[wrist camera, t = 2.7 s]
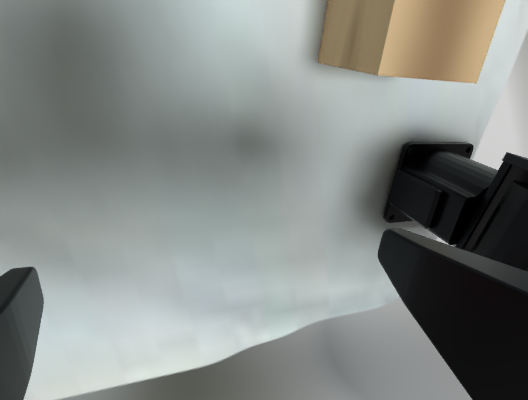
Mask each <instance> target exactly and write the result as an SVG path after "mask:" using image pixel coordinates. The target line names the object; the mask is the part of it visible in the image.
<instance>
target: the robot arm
mask: <svg viewBox="0 0 528 400" xmlns="http://www.w3.org/2000/svg"><path fill="white" fill-rule="evenodd" d="M410 148H411V149H410ZM409 149H410V151H409ZM472 152H473V145H472V144H469V143H465V142H409V143H406V144H405V145H404V146H403V148H402V152H401V155H400V159H399V162H398V166H397V169H396V173H395V176H394V180H393V184H392V187H391V191H390V194H389V198H388V201H387V205H386V208H385V212H384V216H383V218H384V220H386V221H387V222H388V223H394V222H405V221H415V222H416V223H418V224H419V225H421V226H422V227H424V228H425V229H428V230H429V231H431V232H432V233H434V234H435V235H436V236H438V237H439V238H441V239H442V240H444V241H445V242H446V243H448V244H449V245H447V244H444V243H441V242H438V241H436V240H433V239H430V238H427V237H424V236H421V235H418V234H415V233H412V232H409V231H406V230H403V229H400V228H392V229H386V230H385V231H384V232H383V235H382V238H381V242H380V246H379V249H378V259H379V261H380V263H381V265H382V267H383V268H384V270H385V272H386V273H387V275H388V277H389V279H390V280H391V282H392V284H393V286H394V287H395V289H396V291H397V292H398V294H399V296H400V297H401V299H402V301H403V302H404V304H405V305H406V307H407V308H408V310H409V311H410V312H411V314H412V315H413V317H414V318H415V320H416V321H417V322H418V324H419V325H420V327H421V328H422V329H423V331H424V332H425V334H426V335H427V336H428V338H429V339H430V341H431V342H432V344H433V345H434V346H435V348H436V349H437V350H438V352H439V353H440V355H441V356H442V358H443V359H444V360H445V362H446V363H447V365H448V366H449V367H450V369H451V370H452V372H453V373H454V374H455V376H456V377H457V379H458V380H459V382H460V383H461V384H462V386H463V387H464V388H465V390H466V391H467V393H468V394H469V395H470V397H471V398H472V400H528V158H524V157H521V156H518V155H514V154H511V153H506V154H505V156H504V158H503V163H502V165H501V166H500V168H499V170H496V169H493V168H491V167H488V166H486V165H483V164H481V163H478V162H475V161H473V160H471V159H470V157H471V154H472ZM450 245H453V246H454V247H453V246H450ZM43 304H44V300H43V294H42V290H41V286H40V282H39V278H38V274H37V271H36V269H35V268H34V267H23V268H14V269H11V270H9V271H8V272H6V273H5V274H3V275H2V276H0V400H23V399H24V396H25V393H26V390H27V386H28V383H29V379H30V376H31V372H32V367H33V362H34V357H35V351H36V345H37V340H38V334H39V328H40V323H41V317H42V312H43Z"/></svg>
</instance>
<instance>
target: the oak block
mask: <svg viewBox="0 0 528 400" xmlns="http://www.w3.org/2000/svg"><path fill="white" fill-rule="evenodd" d="M504 3H505V0H328V2H327V8H326V14H325V21H324V27H323V34H322V40H321V47H320V53H319V59H318V63H321V64H326V65H331V66H336V67H340V68H345V69H350V70H355V71H359V72H364V73H369V74H374V75H380V76H392V77H404V78H417V79H429V80H441V81H453V82H465V83H477V81H478V78H479V75H480V72H481V69H482V66H483V64H484V61H485V58H486V55H487V52H488V49H489V46H490V43H491V41H492V38H493V35H494V32H495V29H496V26H497V23H498V21H499V18H500V15H501V12H502V9H503V6H504Z"/></svg>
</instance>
